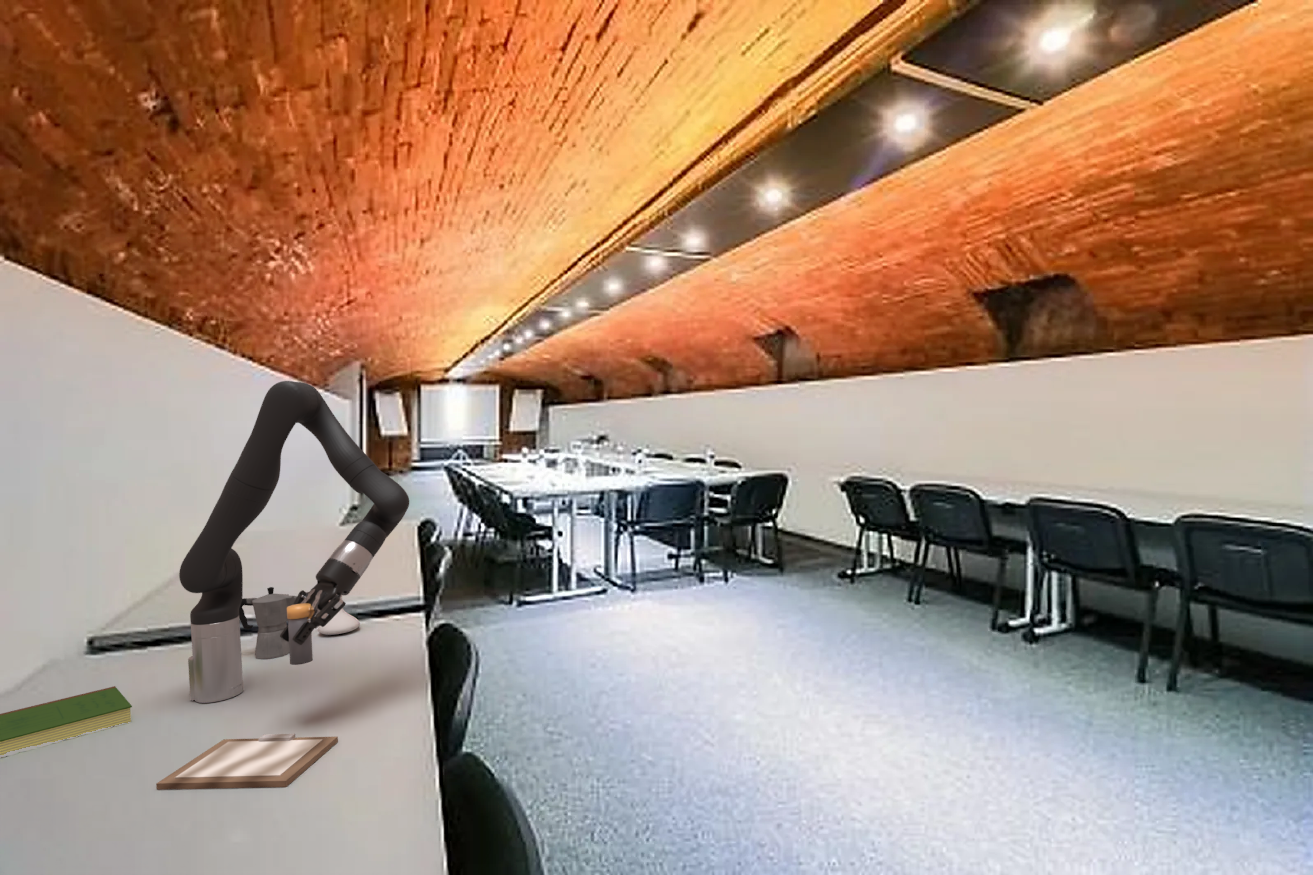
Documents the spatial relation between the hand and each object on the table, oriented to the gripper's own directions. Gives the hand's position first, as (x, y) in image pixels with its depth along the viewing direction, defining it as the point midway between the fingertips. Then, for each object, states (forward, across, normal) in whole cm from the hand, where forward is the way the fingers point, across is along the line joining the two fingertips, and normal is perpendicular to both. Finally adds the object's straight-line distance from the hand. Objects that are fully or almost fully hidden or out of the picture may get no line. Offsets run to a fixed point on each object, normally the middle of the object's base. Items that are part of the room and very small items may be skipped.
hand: (290, 640), depth 133 cm
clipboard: (+21, +8, +4) cm, 23 cm away
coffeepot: (-4, -55, +29) cm, 62 cm away
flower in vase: (-19, -57, +44) cm, 75 cm away
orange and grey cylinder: (+2, 0, +5) cm, 5 cm away
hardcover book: (+31, -47, -5) cm, 56 cm away
